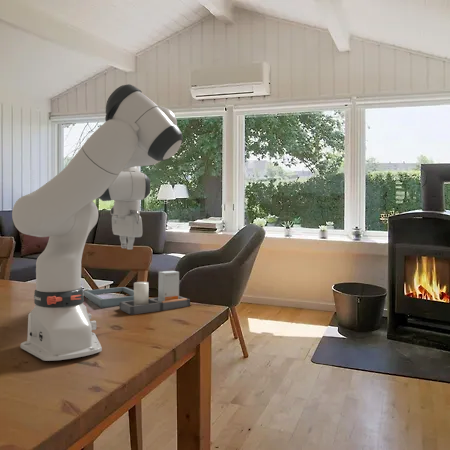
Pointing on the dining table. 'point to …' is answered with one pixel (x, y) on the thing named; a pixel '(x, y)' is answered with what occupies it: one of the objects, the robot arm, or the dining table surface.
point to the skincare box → (168, 286)
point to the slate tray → (110, 301)
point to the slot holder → (153, 305)
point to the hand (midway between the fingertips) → (127, 248)
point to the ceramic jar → (141, 293)
